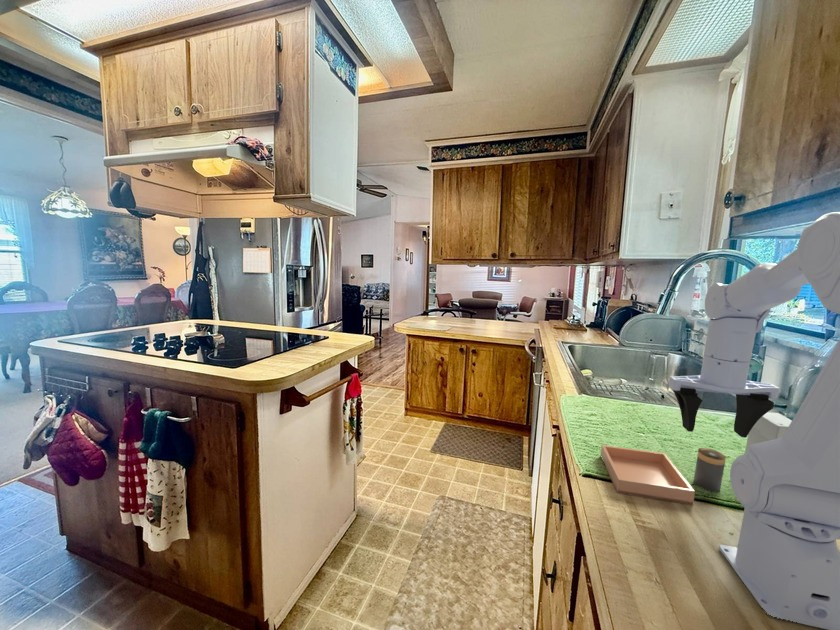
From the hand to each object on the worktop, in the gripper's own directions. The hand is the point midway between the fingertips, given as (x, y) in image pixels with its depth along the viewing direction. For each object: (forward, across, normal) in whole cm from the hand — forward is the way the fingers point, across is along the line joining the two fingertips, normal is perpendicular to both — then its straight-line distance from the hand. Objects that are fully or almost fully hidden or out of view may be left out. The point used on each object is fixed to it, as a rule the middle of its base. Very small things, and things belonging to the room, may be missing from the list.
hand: (713, 431), depth 57 cm
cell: (+10, 0, +1) cm, 10 cm away
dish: (+10, +10, +2) cm, 14 cm away
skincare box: (+10, -11, -3) cm, 15 cm away
